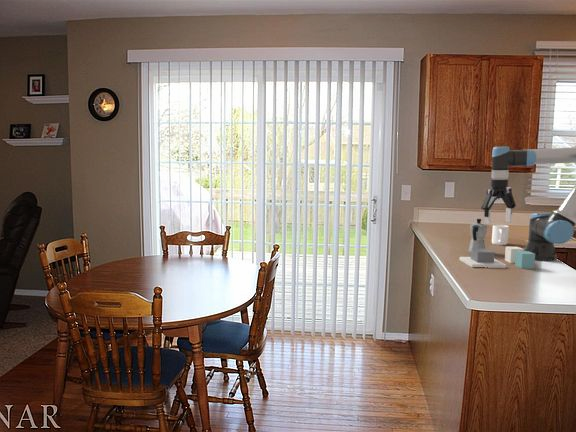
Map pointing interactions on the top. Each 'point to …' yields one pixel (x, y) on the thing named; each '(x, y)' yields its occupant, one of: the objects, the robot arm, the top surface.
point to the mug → (500, 234)
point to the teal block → (525, 259)
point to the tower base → (490, 265)
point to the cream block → (511, 254)
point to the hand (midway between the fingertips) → (498, 222)
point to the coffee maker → (477, 235)
